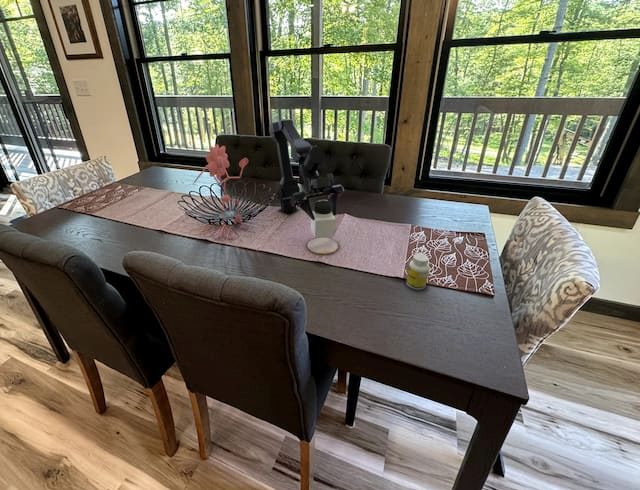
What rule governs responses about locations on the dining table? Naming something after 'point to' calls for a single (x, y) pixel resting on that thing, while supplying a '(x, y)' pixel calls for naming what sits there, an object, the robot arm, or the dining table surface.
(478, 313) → the dining table surface
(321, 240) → the coaster
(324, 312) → the dining table surface
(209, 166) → the figurine
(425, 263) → the supplement bottle
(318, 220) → the medicine bottle
